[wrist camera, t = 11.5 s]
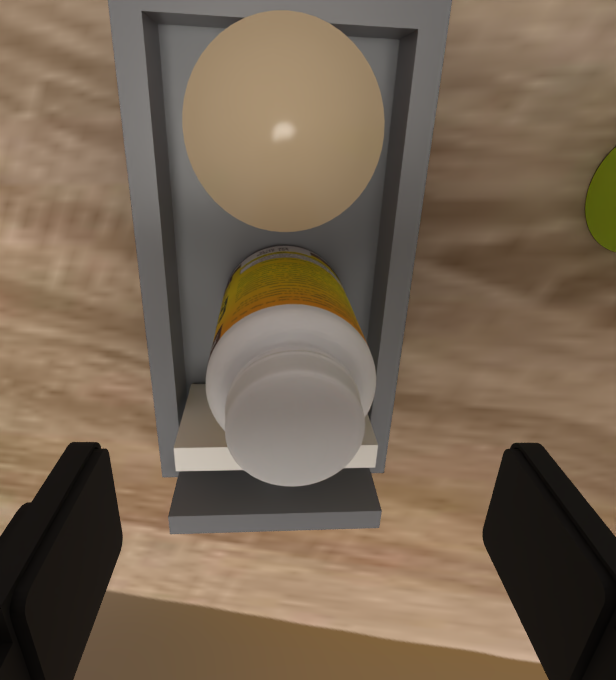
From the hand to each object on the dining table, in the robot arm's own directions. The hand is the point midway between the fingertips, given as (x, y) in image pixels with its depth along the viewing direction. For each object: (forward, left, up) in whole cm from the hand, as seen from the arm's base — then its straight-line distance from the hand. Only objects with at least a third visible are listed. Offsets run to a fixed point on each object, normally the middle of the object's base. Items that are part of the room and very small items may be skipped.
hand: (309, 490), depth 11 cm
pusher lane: (+1, -2, -13) cm, 13 cm away
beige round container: (+1, -8, -12) cm, 14 cm away
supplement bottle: (0, 0, -13) cm, 13 cm away
